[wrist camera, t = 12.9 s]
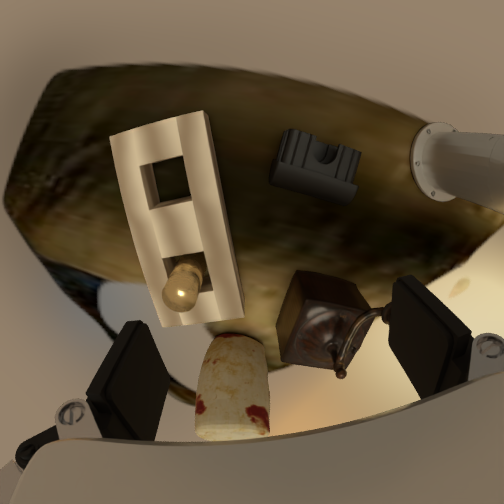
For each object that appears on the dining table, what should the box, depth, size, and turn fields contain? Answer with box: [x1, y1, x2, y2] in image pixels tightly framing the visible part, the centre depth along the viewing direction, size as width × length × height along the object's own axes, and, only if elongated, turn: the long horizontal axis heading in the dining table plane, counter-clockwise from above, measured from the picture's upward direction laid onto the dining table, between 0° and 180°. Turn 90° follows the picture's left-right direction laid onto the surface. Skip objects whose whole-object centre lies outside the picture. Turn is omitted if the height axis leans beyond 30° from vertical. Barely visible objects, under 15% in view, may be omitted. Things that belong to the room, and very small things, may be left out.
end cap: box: [269, 129, 362, 206], centre depth 34 cm, size 10×7×7 cm
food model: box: [195, 333, 270, 441], centre depth 37 cm, size 10×7×20 cm
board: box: [110, 110, 244, 327], centre depth 37 cm, size 12×27×5 cm, turn 10°
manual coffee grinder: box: [276, 270, 392, 379], centre depth 35 cm, size 16×11×18 cm
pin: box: [162, 251, 207, 313], centre depth 36 cm, size 4×4×11 cm
